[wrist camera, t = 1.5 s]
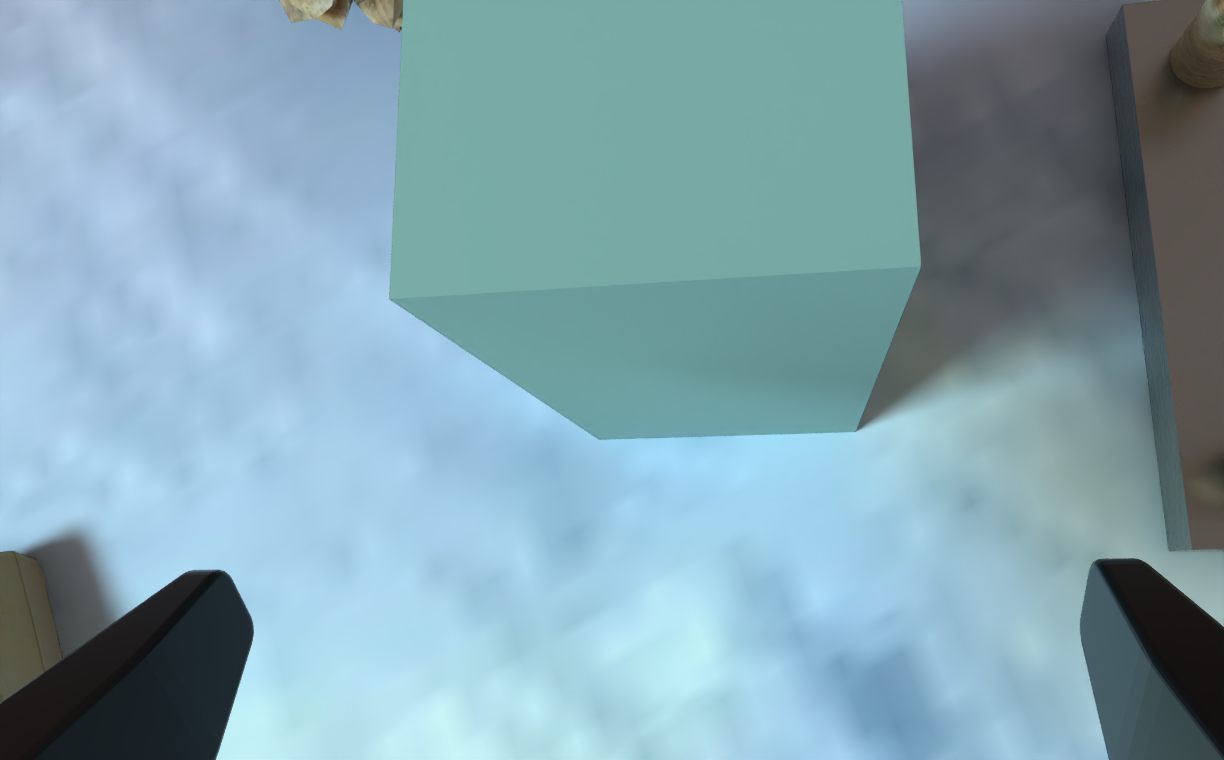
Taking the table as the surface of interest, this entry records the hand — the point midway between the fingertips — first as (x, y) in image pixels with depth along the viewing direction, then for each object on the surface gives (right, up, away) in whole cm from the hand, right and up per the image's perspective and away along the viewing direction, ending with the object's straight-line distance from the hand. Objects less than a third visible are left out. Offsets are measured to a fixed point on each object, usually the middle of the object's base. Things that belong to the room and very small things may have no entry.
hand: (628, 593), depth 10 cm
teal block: (+2, +4, +13) cm, 14 cm away
